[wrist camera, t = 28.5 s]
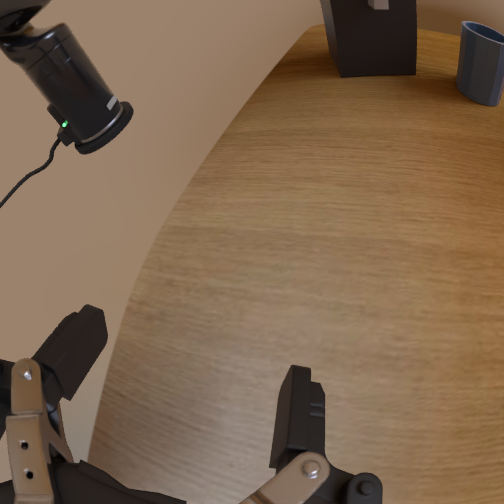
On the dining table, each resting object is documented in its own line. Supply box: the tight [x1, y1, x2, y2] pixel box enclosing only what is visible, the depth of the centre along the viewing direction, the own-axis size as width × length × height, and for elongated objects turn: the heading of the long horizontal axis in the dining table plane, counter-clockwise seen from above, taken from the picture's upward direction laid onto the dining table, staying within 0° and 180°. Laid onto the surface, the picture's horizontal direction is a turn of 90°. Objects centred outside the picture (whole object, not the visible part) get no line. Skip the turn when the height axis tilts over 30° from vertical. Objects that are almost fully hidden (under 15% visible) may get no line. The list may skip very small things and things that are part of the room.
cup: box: [456, 21, 504, 106], centre depth 21 cm, size 6×6×9 cm
